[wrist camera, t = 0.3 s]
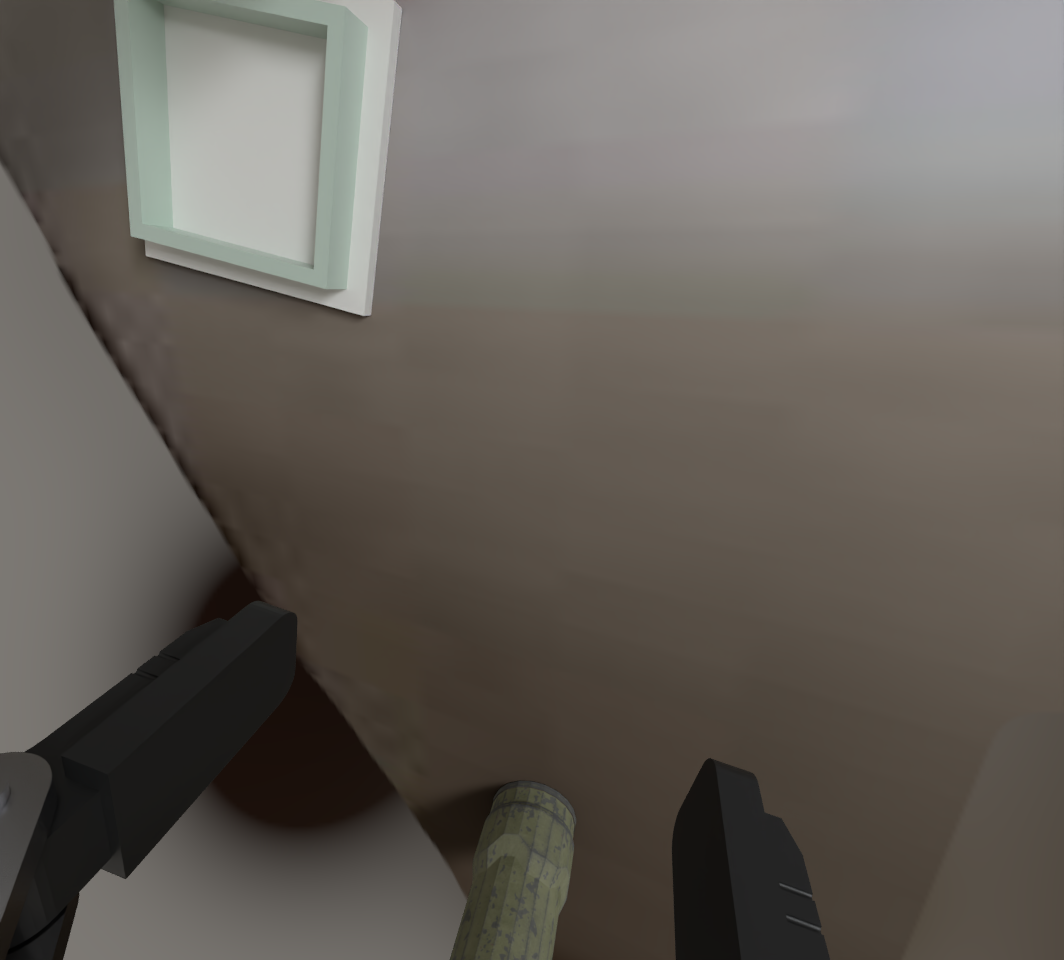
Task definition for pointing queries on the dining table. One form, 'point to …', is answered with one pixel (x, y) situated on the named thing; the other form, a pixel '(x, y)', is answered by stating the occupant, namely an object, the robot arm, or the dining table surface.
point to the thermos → (518, 876)
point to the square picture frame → (260, 138)
